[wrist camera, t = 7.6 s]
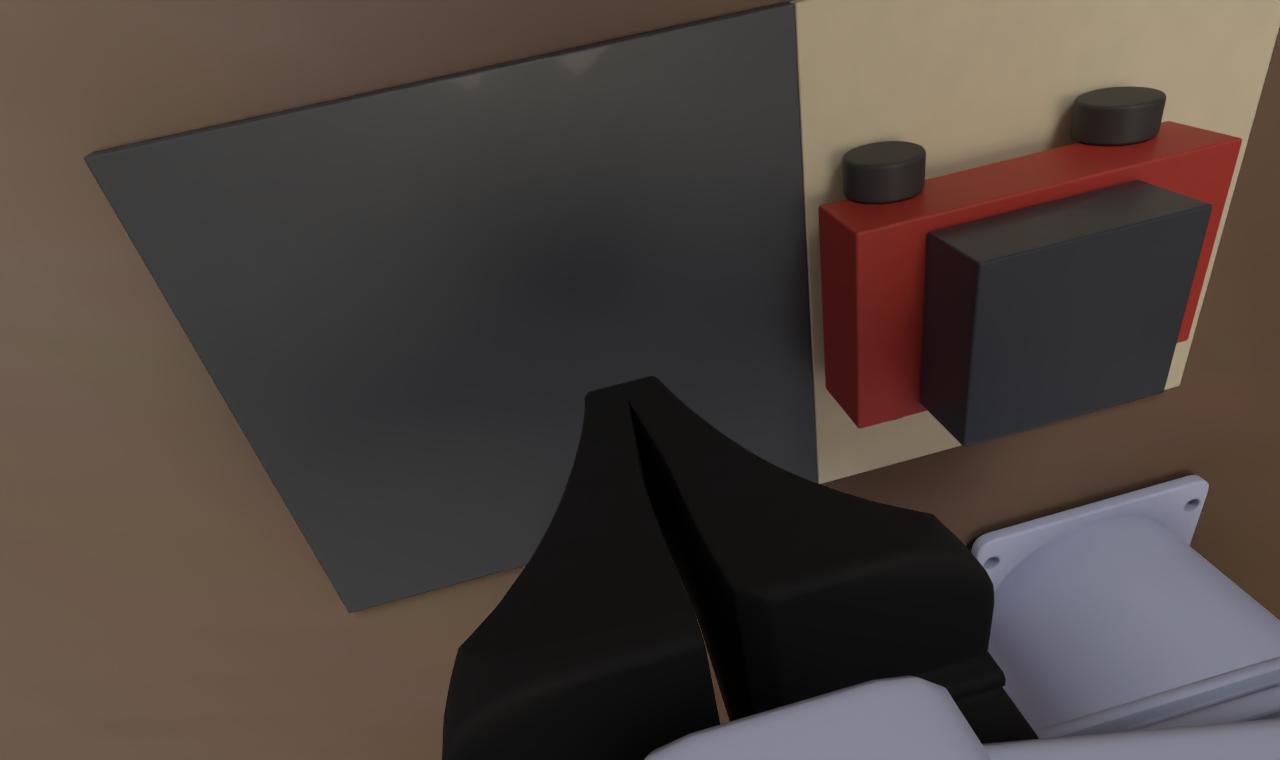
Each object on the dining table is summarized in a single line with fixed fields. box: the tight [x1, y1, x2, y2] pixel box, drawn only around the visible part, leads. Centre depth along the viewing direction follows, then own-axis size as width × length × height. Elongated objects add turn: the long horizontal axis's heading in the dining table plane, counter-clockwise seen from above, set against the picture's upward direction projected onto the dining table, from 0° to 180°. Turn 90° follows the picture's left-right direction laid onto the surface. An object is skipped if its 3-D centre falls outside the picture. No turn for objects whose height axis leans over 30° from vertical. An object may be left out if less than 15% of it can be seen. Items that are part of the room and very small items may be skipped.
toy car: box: [818, 86, 1242, 447], centre depth 15 cm, size 6×8×4 cm
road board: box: [84, 0, 1280, 613], centre depth 17 cm, size 12×24×1 cm, turn 100°
